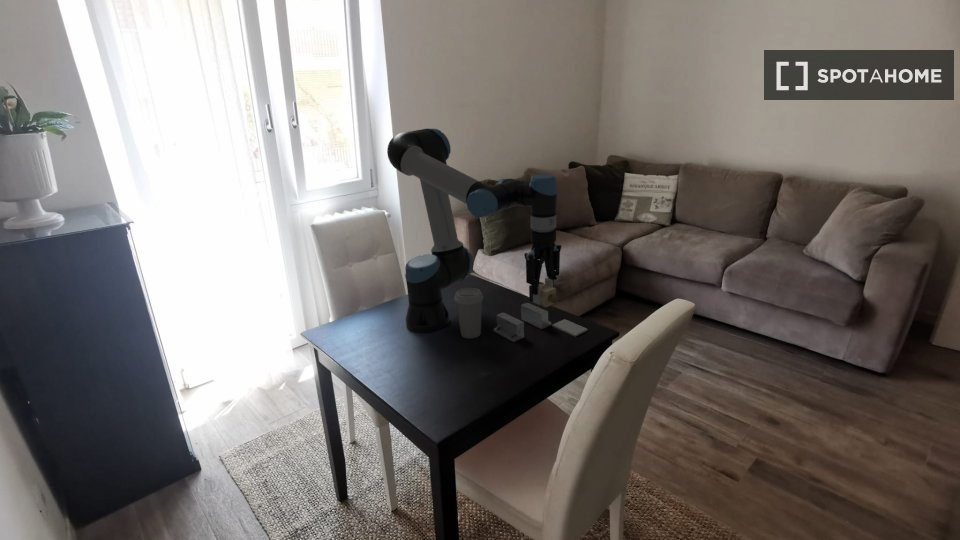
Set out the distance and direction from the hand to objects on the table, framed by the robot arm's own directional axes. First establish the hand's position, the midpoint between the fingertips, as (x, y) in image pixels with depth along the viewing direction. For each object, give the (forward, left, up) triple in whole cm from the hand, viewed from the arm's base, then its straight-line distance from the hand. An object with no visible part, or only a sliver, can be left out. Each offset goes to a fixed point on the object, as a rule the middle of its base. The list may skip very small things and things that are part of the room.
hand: (542, 300), depth 153 cm
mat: (+1, +11, -13) cm, 17 cm away
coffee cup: (-19, -15, -13) cm, 27 cm away
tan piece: (0, 0, 0) cm, 1 cm away
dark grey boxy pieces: (-10, 0, -13) cm, 16 cm away
